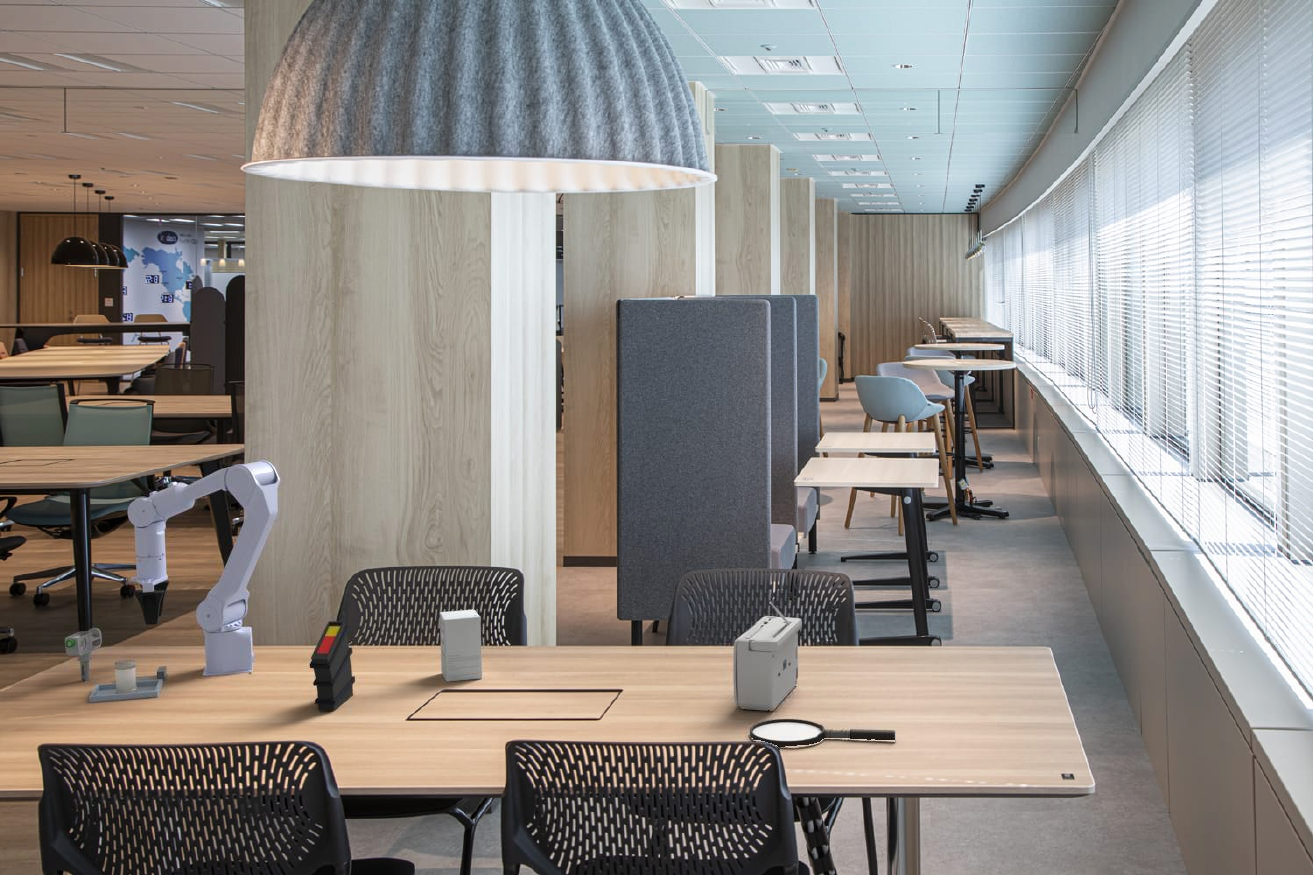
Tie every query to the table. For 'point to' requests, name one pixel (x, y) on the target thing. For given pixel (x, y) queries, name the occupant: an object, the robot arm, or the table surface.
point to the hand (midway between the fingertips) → (153, 620)
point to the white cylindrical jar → (125, 676)
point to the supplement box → (460, 645)
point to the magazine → (333, 667)
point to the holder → (160, 675)
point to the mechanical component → (83, 648)
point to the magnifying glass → (808, 732)
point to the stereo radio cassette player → (766, 662)
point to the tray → (109, 693)
